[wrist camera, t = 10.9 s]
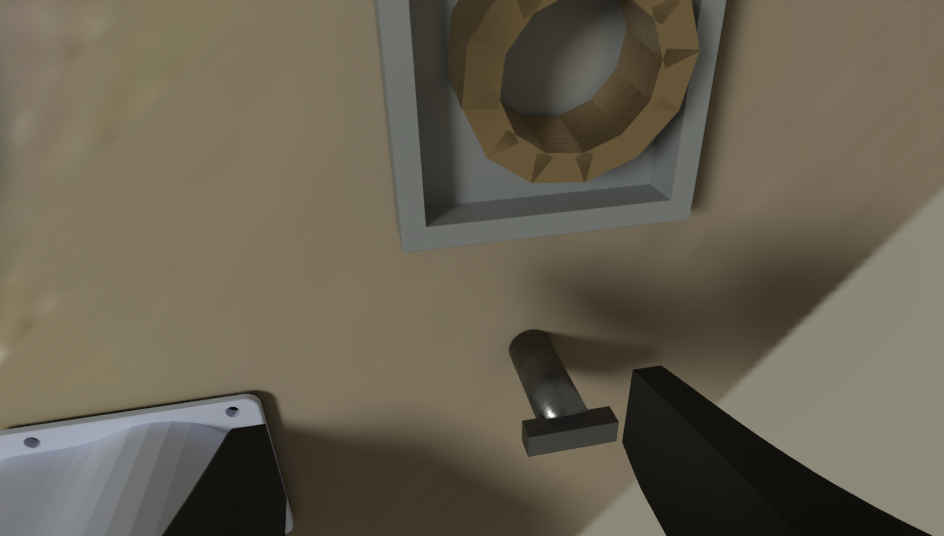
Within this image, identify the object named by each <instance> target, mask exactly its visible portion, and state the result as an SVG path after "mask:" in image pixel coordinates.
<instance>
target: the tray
mask: <svg viewBox="0 0 944 536" xmlns="http://www.w3.org/2000/svg"><path fill="white" fill-rule="evenodd" d="M457 2H458V0H374V3H375V13H376V23H377V32H378V42H379V52H380V62H381V71H382V81H383V91H384V101H385V110H386V120H387V130H388V140H389V149H390V159H391V169H392V179H393V188H394V198H395V208H396V218H397V226H398V231H399V236H400V241H401V246H402V251H403V252H412V251H420V250H429V249H438V248H446V247H455V246H463V245H472V244H481V243H489V242H498V241H506V240H515V239H523V238H532V237H541V236H549V235H558V234H566V233H575V232H584V231H592V230H601V229H609V228H618V227H627V226H635V225H644V224H652V223H661V222H669V221H678V220H687V219H689V217H690V212H691V206H692V200H693V194H694V188H695V182H696V176H697V170H698V165H699V159H700V153H701V147H702V141H703V135H704V129H705V124H706V118H707V112H708V106H709V100H710V94H711V88H712V82H713V77H714V71H715V65H716V59H717V53H718V47H719V41H720V35H721V30H722V24H723V18H724V12H725V6H726V0H692V6H693V13H694V19H695V25H696V31H697V37H698V43H699V49H700V51H699V54H698V57H697V60H696V63H695V65H694V68H693V71H692V74H691V77H690V80H689V83H688V86H687V89H686V92H685V95H684V97H683V100H682V103H681V106H680V109H679V111H678V112H677V113H676V114H675V116H674V117H673V118H672V119H671V120H670V121H669V122H668V123H667V124H666V126H665V127H664V128H663V129H662V130H661V131H660V132H659V133H658V134H657V136H656V137H655V138H654V139H653V140H652V141H651V142H650V143H649V144H648V146H647V147H646V148H645V149H644V150H643V151H642V152H641V153H640V155H639V156H638V157H636V158H634V159H632V160H630V161H628V162H626V163H624V164H622V165H620V166H617V167H615V168H613V169H611V170H609V171H607V172H605V173H603V174H601V175H599V176H597V177H595V178H593V179H591V180H589V181H587V182H570V183H530V182H529V181H527V180H525V179H523V178H522V177H520V176H518V175H516V174H514V173H513V172H511V171H509V170H507V169H505V168H504V167H502V166H500V165H498V164H497V163H495V162H493V161H491V160H489V159H487V158H486V156H485V154H484V151H483V149H482V147H481V145H480V143H479V141H478V139H477V137H476V135H475V133H474V132H473V130H472V128H471V126H470V124H469V122H468V120H467V118H466V116H465V114H464V112H463V110H462V109H461V106H460V104H459V101H458V99H457V97H456V94H455V92H454V90H453V87H452V85H451V82H450V80H449V78H448V75H447V63H448V48H449V34H450V20H451V11H452V10H453V8H454V7H455V5H456V3H457ZM625 33H626V27H625V23H624V19H623V15H622V11H621V6H620V2H619V0H558V1H556V2H554V3H552V4H550V5H549V6H547V7H545V8H543V9H541V10H539V11H537V12H536V13H534V14H533V16H532V17H531V19H530V20H529V22H528V23H527V24H526V26H525V27H524V29H523V30H522V32H521V33H520V34H519V36H518V37H517V39H516V40H515V42H514V43H513V45H512V46H511V47H510V49H509V50H508V52H507V53H506V55H505V62H504V69H503V77H502V85H501V92H500V101H501V102H503V103H504V104H506V105H508V106H509V107H511V108H512V109H514V110H515V111H517V112H519V113H520V114H522V115H523V116H559V115H561V114H563V113H565V112H567V111H569V110H571V109H573V108H575V107H577V106H579V105H581V104H583V103H585V102H587V101H589V100H591V99H592V98H593V97H594V95H595V94H596V93H597V92H598V90H599V89H600V88H601V87H602V85H603V84H604V83H605V82H606V80H607V79H608V78H609V77H610V76H611V74H612V73H613V72H614V71H615V69H616V68H617V64H618V60H619V56H620V52H621V48H622V44H623V40H624V37H625Z"/></svg>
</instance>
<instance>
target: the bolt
mask: <svg viewBox="0 0 944 536" xmlns="http://www.w3.org/2000/svg"><path fill="white" fill-rule="evenodd" d="M509 354H510V357H511V359H512V362H513V364H514V367H515V369H516V371H517V374H518V376H519V378H520V381H521V383H522V386H523V388H524V390H525V393H526V395H527V398H528V400H529V402H530V405H531V407H532V409H533V412H534V414H535V417H536V419H530V420H524V421H522V442H523V444H524V447H525V450H526V452H527V455H528V457H530V456H536V455H541V454H547V453H553V452H558V451H564V450H569V449H575V448H580V447H586V446H592V445H597V444H603V443H608V442H614V441H616V439H617V432H618V424H619V422H618V420H617V418H616V417H615V415H614V413H613V412H612V410H611V408H610V406H607V407H601V408H595V409H589V410H587V408H586V406H585V404H584V402H583V401H582V399H581V397H580V395H579V393H578V391H577V390H576V388H575V386H574V384H573V382H572V380H571V378H570V377H569V375H568V373H567V371H566V369H565V367H564V365H563V364H562V362H561V360H560V358H559V356H558V354H557V352H556V351H555V349H554V347H553V345H552V343H551V341H550V340H549V338H548V336H547V335H546V334H545V333H543V332H541V331H538V330H529V331H525V332H523V333H521V334H519V335H518V336H516V337H515V338H514V339H513V341H512V342H511V344H510V347H509Z"/></svg>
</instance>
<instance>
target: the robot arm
mask: <svg viewBox="0 0 944 536" xmlns="http://www.w3.org/2000/svg"><path fill="white" fill-rule="evenodd" d="M229 407H236V408H238V410H231V409H229ZM31 437H34V438H36V439H38V440H34V439H32V438H31ZM622 443H623V445H624V448H625V450H626V453H627V456H628V458H629V461H630V463H631V466H632V469H633V471H634V473H635V476H636V478H637V480H638V483H639V485H640V488H641V490H642V492H643V493H644V495H645V497H646V499H647V501H648V503H649V505H650V507H651V508H652V510H653V512H654V514H655V516H656V518H657V519H658V521H659V523H660V525H661V527H662V528H663V530H664V532H665V534H666V536H932V535H930V534H927V533H926V532H924V531H922V530H919V529H917V528H915V527H913V526H911V525H909V524H907V523H905V522H903V521H901V520H899V519H897V518H895V517H893V516H892V515H890V514H888V513H886V512H884V511H882V510H880V509H878V508H876V507H874V506H873V505H871V504H869V503H867V502H866V501H864V500H862V499H860V498H858V497H856V496H855V495H853V494H851V493H849V492H848V491H846V490H844V489H842V488H840V487H838V486H837V485H835V484H833V483H832V482H830V481H828V480H827V479H825V478H823V477H822V476H820V475H818V474H817V473H815V472H813V471H812V470H810V469H809V468H807V467H805V466H804V465H802V464H801V463H799V462H798V461H796V460H794V459H793V458H791V457H790V456H788V455H787V454H785V453H784V452H782V451H780V450H779V449H777V448H776V447H774V446H773V445H771V444H770V443H768V442H767V441H766V440H764V439H763V438H761V437H759V436H758V435H757V434H755V433H754V432H752V431H751V430H749V429H748V428H747V427H745V426H744V425H742V424H741V423H739V422H738V421H737V420H735V419H734V418H732V417H731V416H730V415H728V414H727V413H726V412H724V411H723V410H721V409H720V408H719V407H717V406H716V405H715V404H713V403H712V402H711V401H709V400H708V399H706V398H705V397H704V396H702V395H701V394H700V393H698V392H697V391H696V390H694V389H693V388H692V387H690V386H689V385H687V384H686V383H685V382H683V381H682V380H681V379H679V378H678V377H677V376H675V375H674V374H672V373H671V372H670V371H668V370H667V369H665V368H664V367H662V366H655V367H648V368H641V369H634V370H633V373H632V379H631V386H630V393H629V400H628V406H627V413H626V420H625V426H624V433H623V440H622ZM292 528H293V516H292V512H291V509H290V505H289V501H288V498H287V494H286V491H285V487H284V483H283V480H282V476H281V473H280V469H279V465H278V462H277V458H276V454H275V451H274V447H273V444H272V440H271V436H270V433H269V429H268V426H267V422H266V418H265V415H264V411H263V407H262V404H261V401H260V399H259V398H258V397H257V396H255V395H252V394H241V395H235V396H228V397H221V398H214V399H208V400H201V401H194V402H188V403H181V404H174V405H167V406H161V407H154V408H147V409H141V410H134V411H127V412H120V413H114V414H107V415H100V416H94V417H87V418H80V419H73V420H67V421H60V422H53V423H47V424H40V425H33V426H27V427H20V428H13V429H6V430H0V536H285V534H287V533H288V532H290V531H291V530H292Z"/></svg>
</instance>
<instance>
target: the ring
mask: <svg viewBox="0 0 944 536" xmlns="http://www.w3.org/2000/svg"><path fill="white" fill-rule="evenodd" d="M556 1H558V0H458V2H457V3H456V5H455V7H454V8H453V10H452V11H451V20H450V34H449V48H448V63H447V75H448V78H449V80H450V82H451V85H452V87H453V90H454V92H455V94H456V97H457V99H458V101H459V104H460V106H461V109H462V110H463V112H464V114H465V116H466V118H467V120H468V122H469V124H470V126H471V128H472V130H473V132H474V133H475V135H476V137H477V139H478V141H479V143H480V145H481V147H482V149H483V151H484V154H485V156H486V158H487V159H489V160H491V161H493V162H495V163H497V164H498V165H500V166H502V167H504V168H505V169H507V170H509V171H511V172H513V173H514V174H516V175H518V176H520V177H522V178H523V179H525V180H527V181H529V182H530V183H570V182H587V181H589V180H591V179H593V178H595V177H597V176H599V175H601V174H603V173H605V172H607V171H609V170H611V169H613V168H615V167H617V166H620V165H622V164H624V163H626V162H628V161H630V160H632V159H634V158H636V157H638V156H639V155H640V153H641V152H642V151H643V150H644V149H645V148H646V147H647V146H648V144H649V143H650V142H651V141H652V140H653V139H654V138H655V137H656V136H657V134H658V133H659V132H660V131H661V130H662V129H663V128H664V127H665V126H666V124H667V123H668V122H669V121H670V120H671V119H672V118H673V117H674V116H675V114H676V113H677V112H678V111H679V109H680V106H681V103H682V100H683V97H684V95H685V92H686V89H687V86H688V83H689V80H690V77H691V74H692V71H693V68H694V65H695V63H696V60H697V57H698V54H699V51H700V49H699V43H698V37H697V31H696V25H695V19H694V13H693V6H692V0H619V2H620V6H621V11H622V15H623V19H624V23H625V27H626V33H625V37H624V40H623V44H622V48H621V52H620V56H619V60H618V64H617V68H616V69H615V71H614V72H613V73H612V74H611V76H610V77H609V78H608V79H607V80H606V82H605V83H604V84H603V85H602V87H601V88H600V89H599V90H598V92H597V93H596V94H595V95H594V97H593V98H592V99H591V100H589V101H587V102H585V103H583V104H581V105H579V106H577V107H575V108H573V109H571V110H569V111H567V112H565V113H563V114H561V115H559V116H523V115H522V114H520V113H519V112H517V111H515V110H514V109H512V108H511V107H509V106H508V105H506V104H504V103H503V102H501V101H500V92H501V85H502V77H503V69H504V62H505V55H506V53H507V52H508V50H509V49H510V47H511V46H512V45H513V43H514V42H515V40H516V39H517V37H518V36H519V34H520V33H521V32H522V30H523V29H524V27H525V26H526V24H527V23H528V22H529V20H530V19H531V17H532V16H533V14H534V13H536V12H537V11H539V10H541V9H543V8H545V7H547V6H549V5H550V4H552V3H554V2H556Z"/></svg>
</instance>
